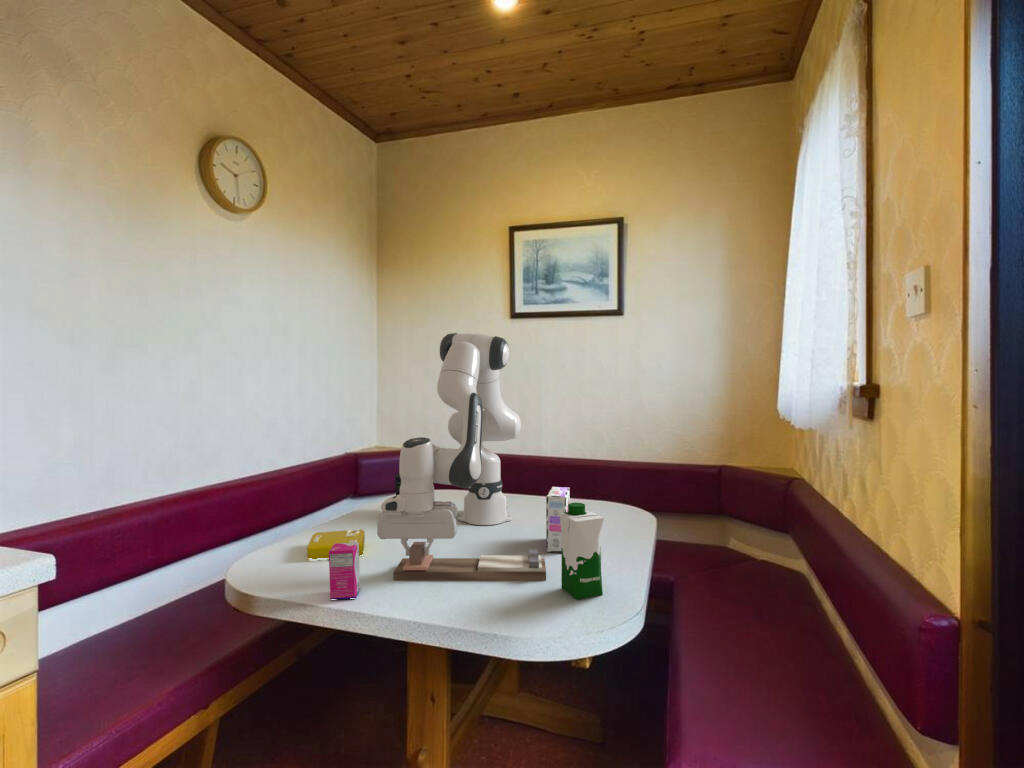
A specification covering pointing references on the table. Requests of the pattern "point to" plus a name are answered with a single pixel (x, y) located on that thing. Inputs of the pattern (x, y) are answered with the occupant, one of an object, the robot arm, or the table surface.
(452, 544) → the table surface
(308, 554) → the element tile
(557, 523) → the candy box
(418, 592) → the table surface
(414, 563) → the pink plate with handle
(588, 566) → the milk carton
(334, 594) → the supplement box
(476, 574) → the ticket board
